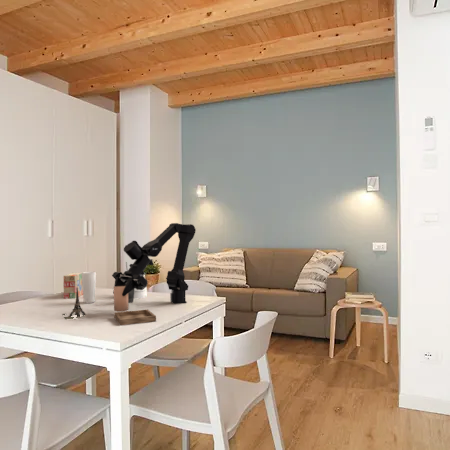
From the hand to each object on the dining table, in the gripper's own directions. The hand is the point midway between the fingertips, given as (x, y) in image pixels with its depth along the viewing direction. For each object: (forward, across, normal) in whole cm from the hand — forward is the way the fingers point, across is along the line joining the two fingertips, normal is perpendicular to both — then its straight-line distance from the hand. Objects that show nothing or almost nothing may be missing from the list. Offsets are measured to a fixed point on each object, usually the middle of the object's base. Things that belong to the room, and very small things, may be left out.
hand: (118, 294), depth 171 cm
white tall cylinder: (+1, +35, -12) cm, 37 cm away
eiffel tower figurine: (+15, +13, +2) cm, 20 cm away
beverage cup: (-8, +20, -21) cm, 30 cm away
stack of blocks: (-5, +61, -18) cm, 64 cm away
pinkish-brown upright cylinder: (+4, 0, -6) cm, 7 cm away
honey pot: (-16, +31, -29) cm, 46 cm away
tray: (+7, -12, -5) cm, 15 cm away
